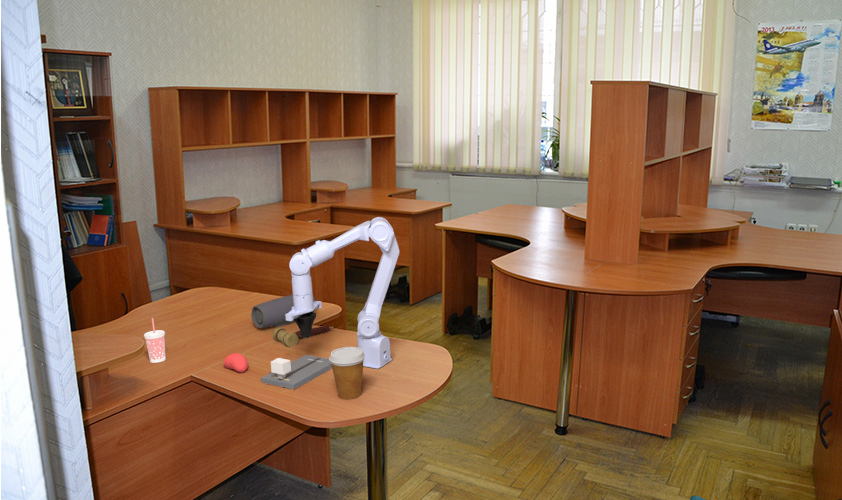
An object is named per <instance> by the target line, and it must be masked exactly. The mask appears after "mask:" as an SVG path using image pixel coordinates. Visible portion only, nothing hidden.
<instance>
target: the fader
mask: <svg viewBox="0 0 842 500" xmlns="http://www.w3.org/2000/svg"><path fill="white" fill-rule="evenodd" d="M270 367H271V368H270V370H271V372H272V373H277V374H278V378H279V379H283V378H285V377H286V373H288V372H290V371H291V359H287V358H286V359H285V358H282V357H277V358H274V360H271V361H270Z"/></svg>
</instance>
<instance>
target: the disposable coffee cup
mask: <svg viewBox="0 0 842 500" xmlns="http://www.w3.org/2000/svg"><path fill="white" fill-rule="evenodd" d="M364 358H365V354H364V353H363V350H362V349H360V348H358V346H357V347H356V346H343V347H339V348H336V349H334V350H332V351H331V352H330V356H329V357H328V359H329V360H330V362H331V364H332V368H331V369H332V372H333V373H332V374H333V378H334V383H335V387H336V392H337V396H338V398H340V399H342V400H354V399H357V398H359V397H360V396H362V387H363V375H364V374H363V373H364V366H363V360H364Z"/></svg>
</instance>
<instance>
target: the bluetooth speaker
mask: <svg viewBox="0 0 842 500" xmlns="http://www.w3.org/2000/svg"><path fill="white" fill-rule="evenodd" d="M315 301H316V299H315V296H313V302H315ZM293 306H294V301H293V294H289V295H285V296H281V297H278V298H274V299H271V300H268V301H267V300H266V301H264V302H262V303H258V304H256V305H253V307H252V308H251V313H250V316H251V320H252V323H253V324H254V326H255V327H256V328H257V329H264V328H269V327H274V328H279V327H280V328H281V327H284V326H287V325H289V324H290V325H291V324H293V323H296V322H295V321H294V319H293V321H286V316H285V314H287V313H289V312H290V311H291V310H292V307H293ZM316 310H317V309H315V310H313V311H312V312H314V313H315V312H316Z"/></svg>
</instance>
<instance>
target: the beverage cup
mask: <svg viewBox="0 0 842 500" xmlns="http://www.w3.org/2000/svg"><path fill="white" fill-rule="evenodd" d="M151 324H152V330H151V331H150V330H149V331H148V332H144V334H143V337H144V339H145V343H146V347H147V352H148V357H149V362H150V363H153V364H154V363H160V362H161V363H163V362H164V361H166V343H165V341H166V340H165V335H166V332H165V330H161V329H160V330H159V329H158V330H157V329H155V322H154V317H151Z"/></svg>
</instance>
